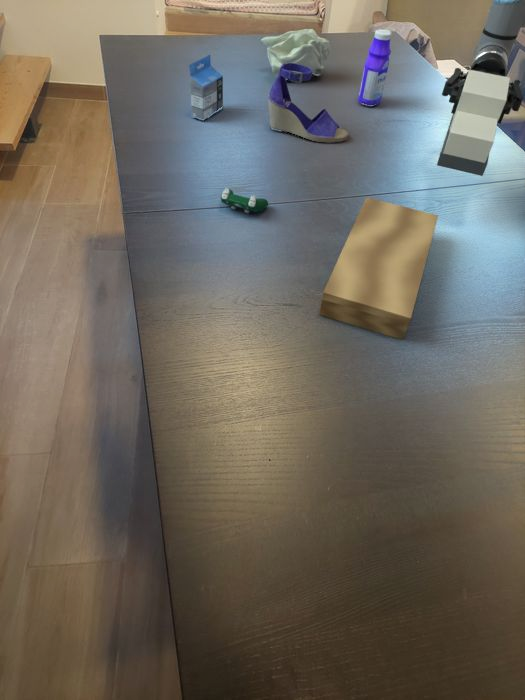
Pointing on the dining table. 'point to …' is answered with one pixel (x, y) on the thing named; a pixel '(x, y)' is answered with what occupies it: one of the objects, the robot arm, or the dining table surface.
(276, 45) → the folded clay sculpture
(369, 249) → the wooden base slab
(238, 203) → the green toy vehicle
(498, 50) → the robot arm
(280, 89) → the sandal
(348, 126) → the dining table surface
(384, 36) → the bottle
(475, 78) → the white two-tier block
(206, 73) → the ink cartridge box
